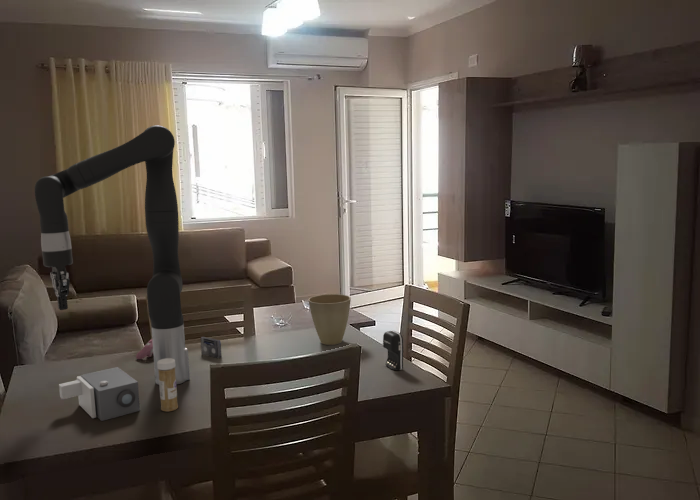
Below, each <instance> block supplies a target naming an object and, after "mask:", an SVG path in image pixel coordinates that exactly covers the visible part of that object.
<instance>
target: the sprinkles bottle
mask: <svg viewBox="0 0 700 500" xmlns="http://www.w3.org/2000/svg"><path fill="white" fill-rule="evenodd" d="M157 367H158V370H159V385H158V387H159V398H160V405H161V406H160V410H161V411H162V412H173V411H176V410H177V409H178V408H179V404H178V390H177V385H176V377H175V360H174V359H172V358H166V359H161V360H159V361H158V362H157Z"/></svg>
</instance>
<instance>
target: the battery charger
mask: <svg viewBox="0 0 700 500" xmlns="http://www.w3.org/2000/svg"><path fill="white" fill-rule="evenodd" d="M382 347H383V348H385V349H386V350H387V359H386V360H385V367H387V368H389V369H390V370H393V371H402V370H403V369H404V338H403V335H402V333H400V332H398V331H396V330H389V331H385V332H384V333H383V337H382Z"/></svg>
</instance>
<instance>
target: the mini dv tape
mask: <svg viewBox="0 0 700 500" xmlns="http://www.w3.org/2000/svg"><path fill="white" fill-rule="evenodd" d="M200 350H201V351H200V352H201V354H200V355H203V356H206V357H212V358H214V359H220V358H222V356H223V355H222V342H221V340H219V339H215V338H210V337H205V336H201V337H200Z"/></svg>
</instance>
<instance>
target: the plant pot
mask: <svg viewBox="0 0 700 500" xmlns="http://www.w3.org/2000/svg"><path fill="white" fill-rule="evenodd" d="M351 299H352V298H351V296H349V295H347V294H346V295H345V294H339V293H338V294H337V293H328V294H319V295H314V296H311V297H309V298H308V305H309V309H310V314H311V317H312V323H313V325H314V328H315V331H316V334H317V336H318V339H319V341H320V343H321V344H323V345H325V346H335V345H339V344H341V343H342V342H343V339H344V335H345V332H346V329H347V326H348V321H349V316H350V308H351V307H350V306H351V302H352V301H351Z"/></svg>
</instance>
